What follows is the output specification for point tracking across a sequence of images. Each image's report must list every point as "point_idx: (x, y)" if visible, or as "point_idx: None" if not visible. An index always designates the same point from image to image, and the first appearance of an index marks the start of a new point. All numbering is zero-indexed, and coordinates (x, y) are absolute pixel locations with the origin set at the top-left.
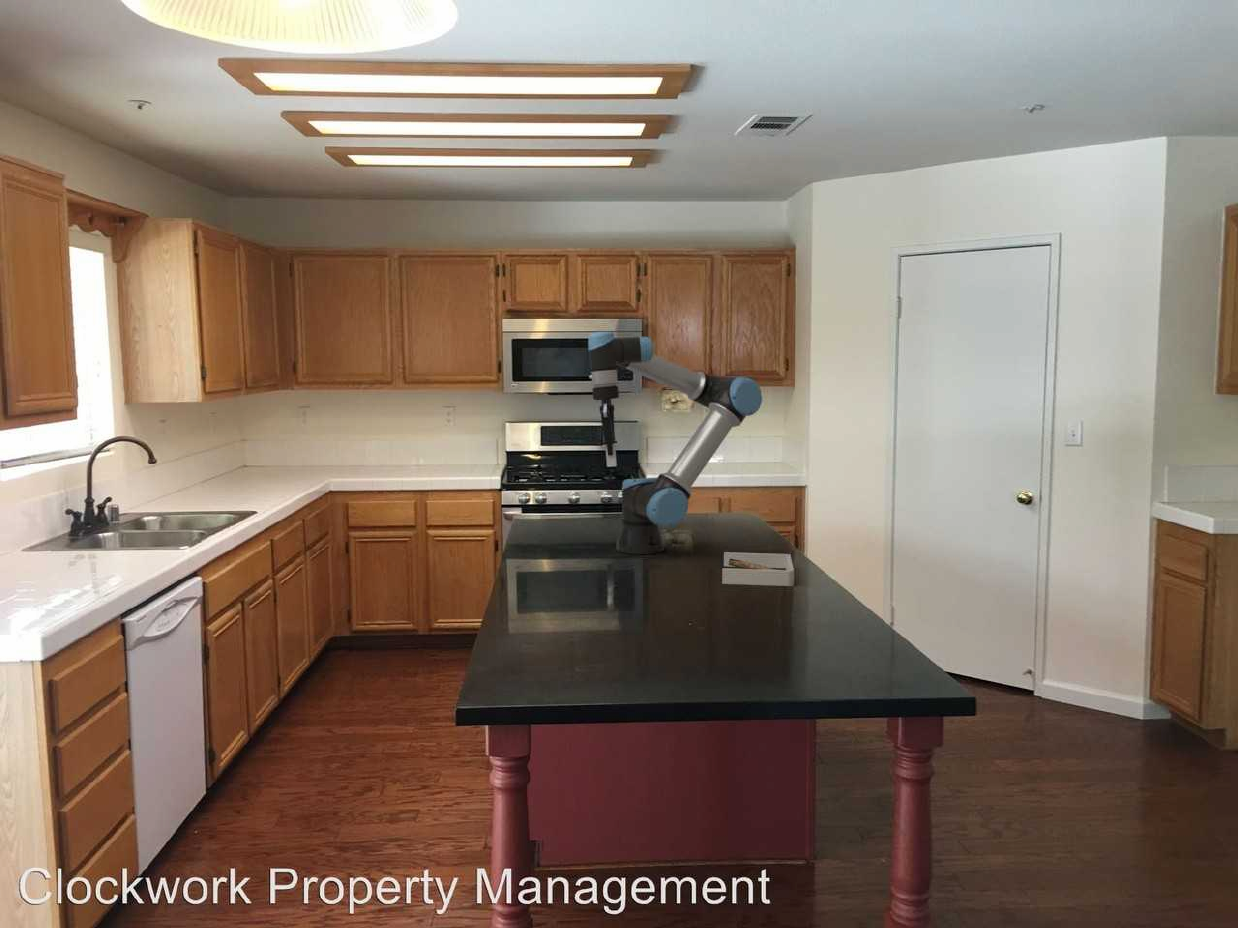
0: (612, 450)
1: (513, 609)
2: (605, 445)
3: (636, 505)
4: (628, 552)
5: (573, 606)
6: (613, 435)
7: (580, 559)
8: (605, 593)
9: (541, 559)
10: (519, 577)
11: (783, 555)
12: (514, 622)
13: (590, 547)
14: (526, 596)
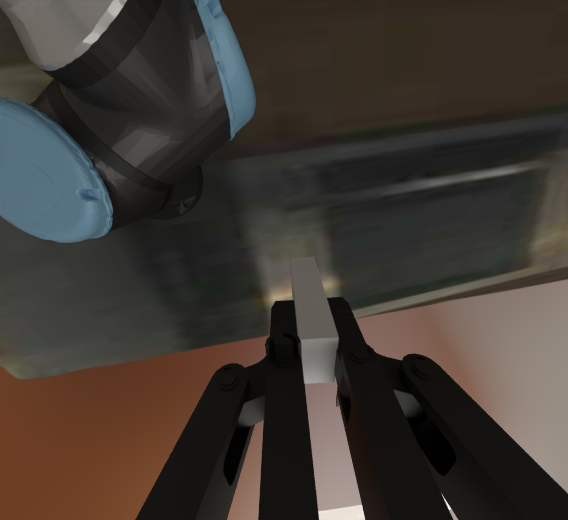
0: (343, 315)
1: (512, 275)
2: (332, 376)
3: (182, 177)
4: (201, 191)
5: (516, 214)
6: (307, 415)
7: (259, 256)
8: (460, 185)
9: (269, 303)
10: (368, 303)
11: None
12: (564, 262)
13: (173, 258)
14: (459, 275)
